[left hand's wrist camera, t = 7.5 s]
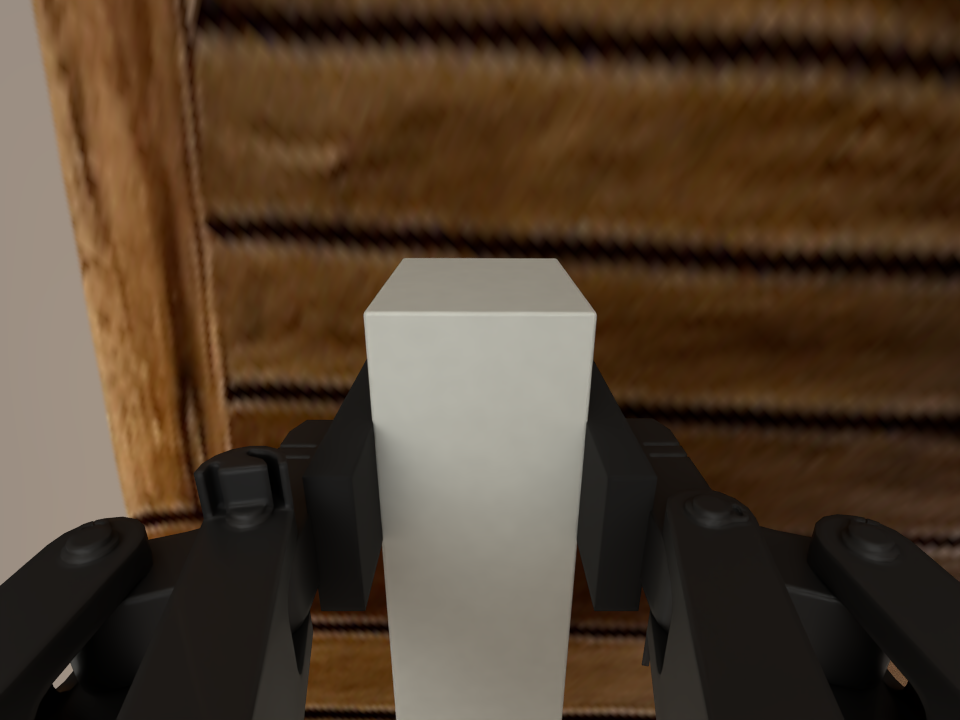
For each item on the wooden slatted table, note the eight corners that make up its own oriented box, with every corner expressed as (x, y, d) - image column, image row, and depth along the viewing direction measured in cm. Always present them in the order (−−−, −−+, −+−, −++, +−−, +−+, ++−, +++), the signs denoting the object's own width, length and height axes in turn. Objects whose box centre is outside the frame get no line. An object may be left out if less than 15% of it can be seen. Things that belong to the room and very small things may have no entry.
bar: (557, 258, 14) (597, 312, 9) (525, 824, 22) (537, 1001, 18) (402, 257, 14) (362, 312, 9) (431, 824, 22) (418, 1000, 18)
